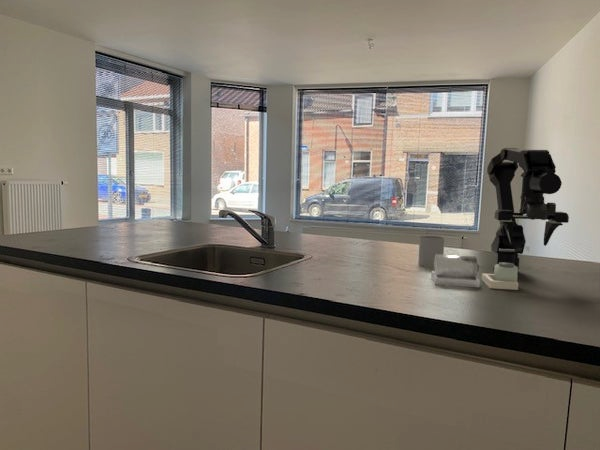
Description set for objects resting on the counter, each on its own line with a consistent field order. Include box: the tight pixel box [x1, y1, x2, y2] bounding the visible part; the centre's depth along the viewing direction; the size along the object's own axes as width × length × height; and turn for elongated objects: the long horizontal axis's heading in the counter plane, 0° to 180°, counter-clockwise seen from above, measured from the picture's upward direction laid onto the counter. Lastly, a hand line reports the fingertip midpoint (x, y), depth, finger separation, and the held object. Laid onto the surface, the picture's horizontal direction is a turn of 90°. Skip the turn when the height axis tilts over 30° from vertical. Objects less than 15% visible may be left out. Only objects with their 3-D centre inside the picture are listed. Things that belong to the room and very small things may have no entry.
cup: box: [418, 235, 445, 268], centre depth 149 cm, size 8×8×10 cm
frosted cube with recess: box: [493, 262, 519, 282], centre depth 121 cm, size 6×6×6 cm
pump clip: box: [481, 273, 519, 291], centre depth 121 cm, size 7×10×2 cm
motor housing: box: [431, 254, 481, 288], centre depth 123 cm, size 12×10×8 cm
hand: (528, 244), depth 125 cm, fingers open, 9 cm apart
